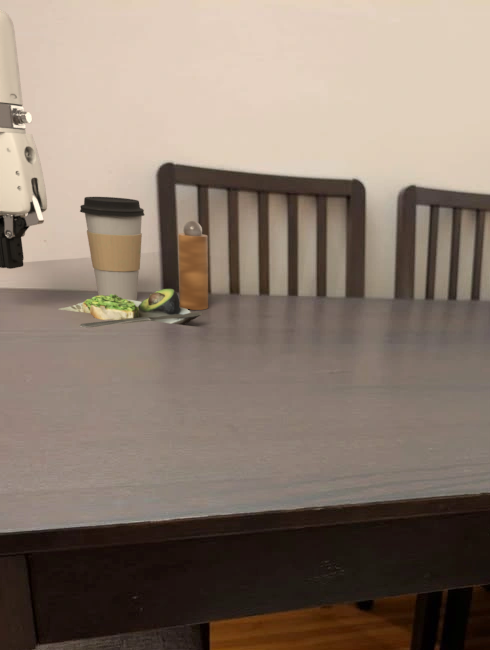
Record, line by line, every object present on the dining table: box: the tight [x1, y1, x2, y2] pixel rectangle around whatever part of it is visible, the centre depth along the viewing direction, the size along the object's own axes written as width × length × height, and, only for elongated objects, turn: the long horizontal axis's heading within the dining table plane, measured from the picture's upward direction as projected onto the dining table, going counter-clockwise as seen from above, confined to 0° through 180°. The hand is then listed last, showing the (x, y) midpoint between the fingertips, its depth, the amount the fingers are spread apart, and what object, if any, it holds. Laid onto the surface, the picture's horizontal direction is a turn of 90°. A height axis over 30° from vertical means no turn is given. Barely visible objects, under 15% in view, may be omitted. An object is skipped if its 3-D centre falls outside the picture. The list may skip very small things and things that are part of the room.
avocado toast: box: [59, 288, 203, 329], centre depth 99 cm, size 19×18×5 cm
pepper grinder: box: [177, 220, 209, 311], centre depth 113 cm, size 4×4×13 cm
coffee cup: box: [79, 196, 145, 301], centre depth 114 cm, size 9×9×15 cm
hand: (11, 266), depth 101 cm, fingers closed
